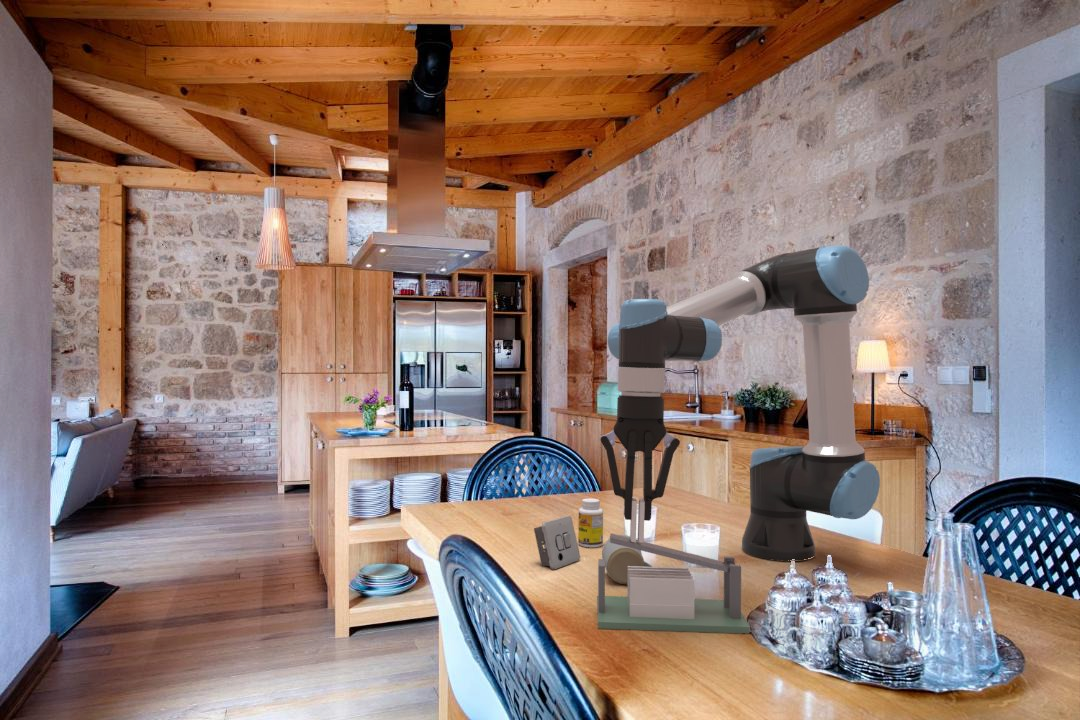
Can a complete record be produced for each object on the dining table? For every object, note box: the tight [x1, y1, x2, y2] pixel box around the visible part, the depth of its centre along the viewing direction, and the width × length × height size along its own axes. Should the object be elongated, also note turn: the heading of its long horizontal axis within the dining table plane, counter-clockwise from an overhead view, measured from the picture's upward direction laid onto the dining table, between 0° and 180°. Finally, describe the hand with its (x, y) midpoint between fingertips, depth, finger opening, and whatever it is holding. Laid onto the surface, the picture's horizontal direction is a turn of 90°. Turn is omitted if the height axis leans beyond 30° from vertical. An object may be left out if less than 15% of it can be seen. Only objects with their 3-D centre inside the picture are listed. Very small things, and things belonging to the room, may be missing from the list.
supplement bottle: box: [577, 497, 604, 549], centre depth 152 cm, size 6×6×10 cm
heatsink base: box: [596, 556, 751, 635], centre depth 109 cm, size 23×12×9 cm, turn 86°
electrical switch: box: [533, 515, 581, 570], centre depth 138 cm, size 9×5×9 cm, turn 141°
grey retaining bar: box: [609, 533, 736, 574], centre depth 109 cm, size 21×3×2 cm, turn 86°
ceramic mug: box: [601, 534, 654, 585], centre depth 128 cm, size 11×8×8 cm
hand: (636, 539), depth 109 cm, fingers closed
